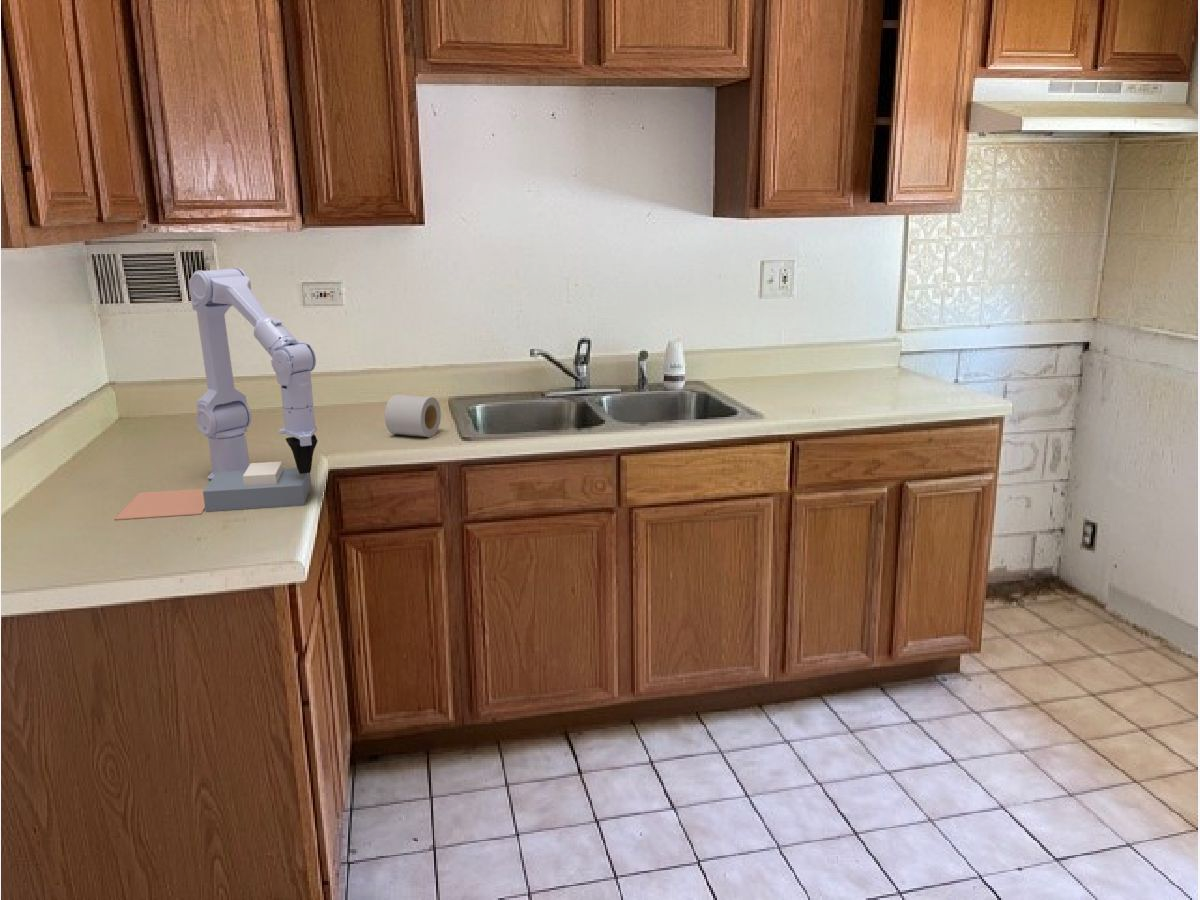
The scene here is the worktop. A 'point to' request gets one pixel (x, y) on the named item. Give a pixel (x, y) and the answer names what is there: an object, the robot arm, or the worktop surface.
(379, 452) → the worktop surface
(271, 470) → the white rectangular block
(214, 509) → the plate
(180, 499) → the terracotta mat
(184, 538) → the worktop surface
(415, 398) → the toilet paper
